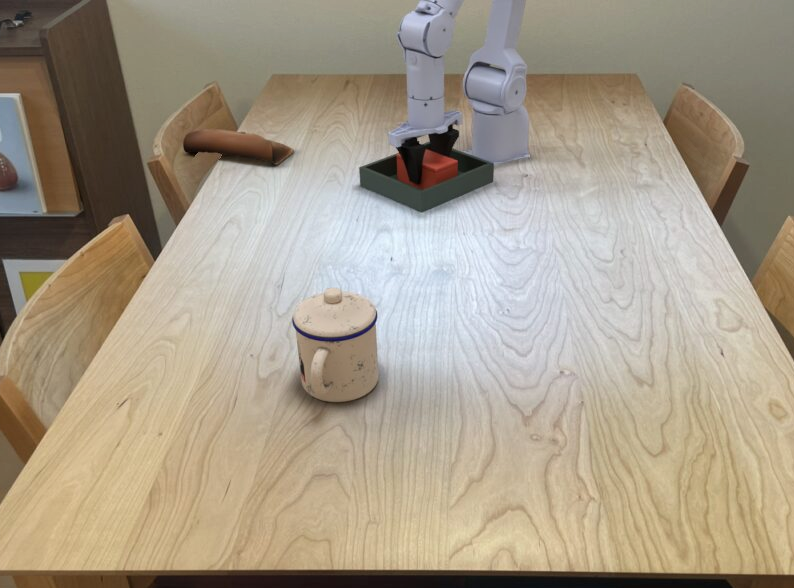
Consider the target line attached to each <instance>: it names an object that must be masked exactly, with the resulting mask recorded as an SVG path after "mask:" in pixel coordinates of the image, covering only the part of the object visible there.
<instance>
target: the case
mask: <svg viewBox="0 0 794 588" xmlns="http://www.w3.org/2000/svg"><path fill="white" fill-rule="evenodd" d="M396 154H397V153H396ZM396 158H397V178H398V181H401V182H403V183H406V184H408V185H411V186H413V187H416V188H418V189H420V190H424V189H427V188H429V187H431V186H434V185H436V184H439V183H441V182H444V181H446V180H448V179H451V178H453V177H456V176H458V161H457V160H454V159H452V158H449V157H446V156H444V155H441V154H438V153H435V152H433V151H430V150H427V149H426V150H425V153H424V157H423V163H422V179H421V183H420V184H415V183H413V182H410V181H409V177H408V174H407V170H406V167H405V165H404V162H403V160H402V157H401V155H400V154H397V157H396Z"/></svg>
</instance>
